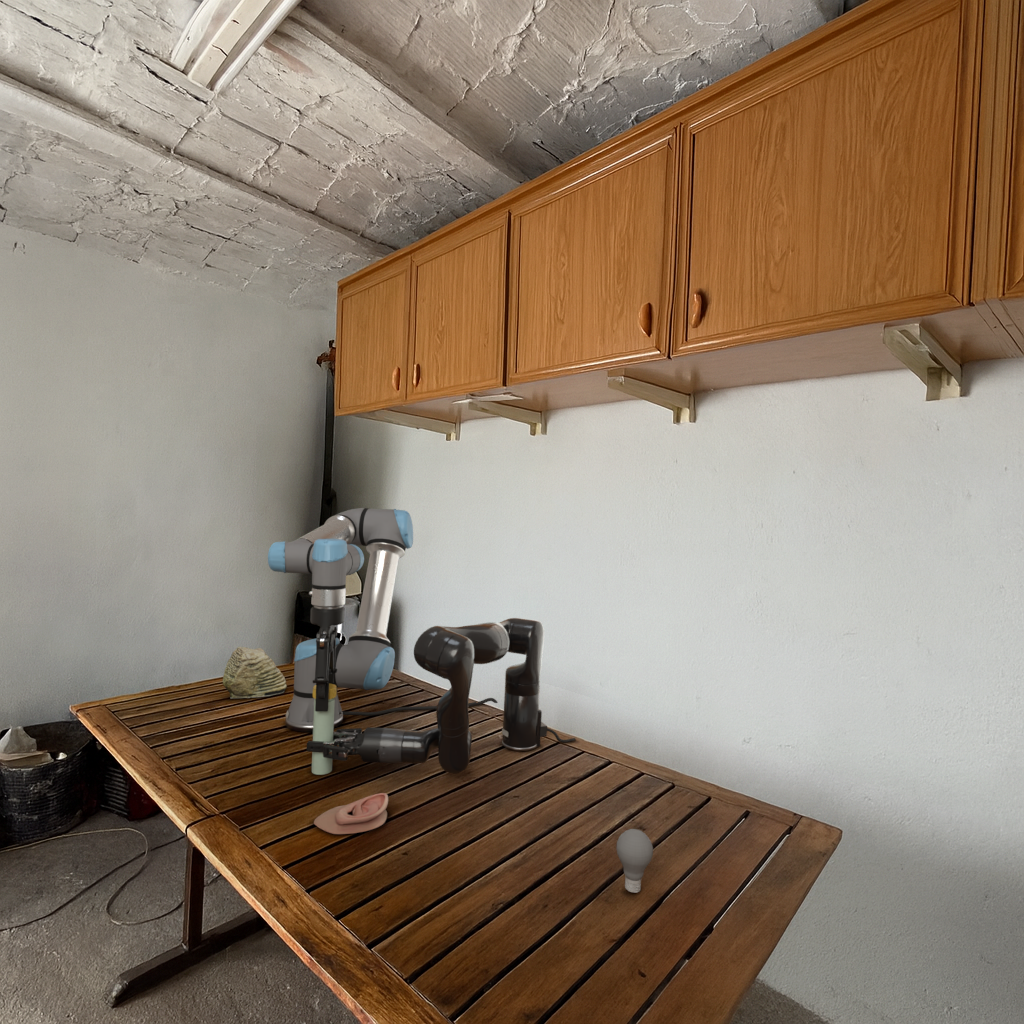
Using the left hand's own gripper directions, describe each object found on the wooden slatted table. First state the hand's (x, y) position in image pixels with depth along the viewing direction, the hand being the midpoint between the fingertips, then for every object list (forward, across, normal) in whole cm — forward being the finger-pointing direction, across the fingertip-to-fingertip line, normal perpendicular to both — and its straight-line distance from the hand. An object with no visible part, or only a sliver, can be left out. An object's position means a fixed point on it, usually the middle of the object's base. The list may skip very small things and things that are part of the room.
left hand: (324, 705), depth 146 cm
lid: (-4, 0, 0) cm, 4 cm away
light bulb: (+15, +48, +59) cm, 78 cm away
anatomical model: (+15, +23, +10) cm, 29 cm away
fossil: (+15, -56, -30) cm, 65 cm away
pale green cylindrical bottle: (+15, 0, 0) cm, 15 cm away
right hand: (+9, 0, -3) cm, 9 cm away
